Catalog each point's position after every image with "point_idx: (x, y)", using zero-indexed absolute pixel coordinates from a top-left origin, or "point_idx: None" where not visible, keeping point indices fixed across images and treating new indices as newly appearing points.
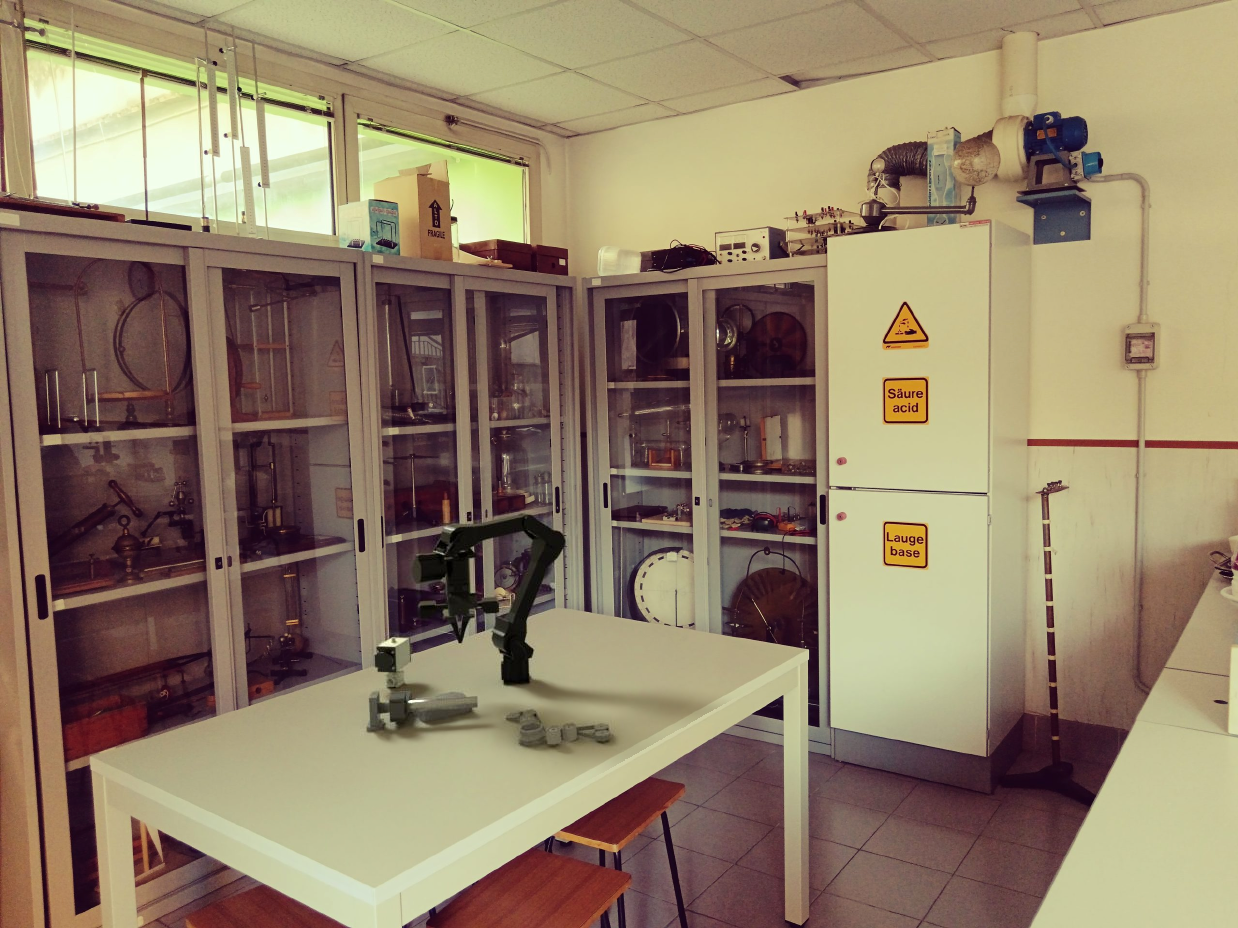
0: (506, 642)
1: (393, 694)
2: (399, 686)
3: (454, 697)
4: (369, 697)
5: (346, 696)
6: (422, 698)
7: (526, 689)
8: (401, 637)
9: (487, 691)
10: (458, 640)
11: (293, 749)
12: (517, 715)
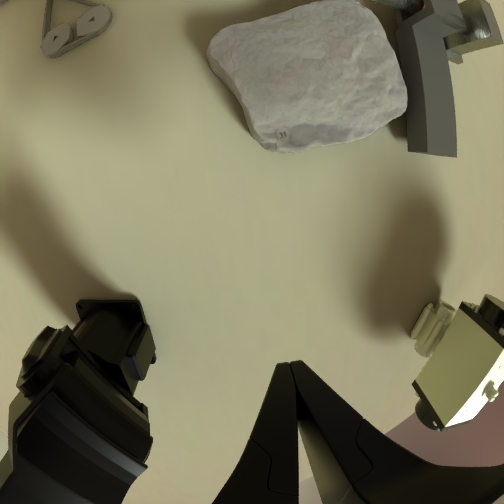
0: (54, 373)
1: (457, 13)
2: (423, 309)
3: (272, 58)
4: (490, 6)
5: (499, 256)
6: (382, 54)
7: (73, 253)
8: (456, 425)
9: (178, 250)
10: (305, 369)
11: (501, 15)
12: (82, 17)
